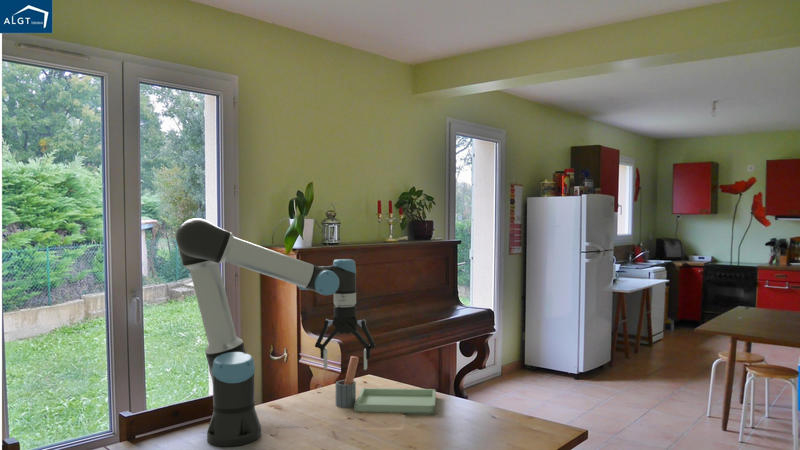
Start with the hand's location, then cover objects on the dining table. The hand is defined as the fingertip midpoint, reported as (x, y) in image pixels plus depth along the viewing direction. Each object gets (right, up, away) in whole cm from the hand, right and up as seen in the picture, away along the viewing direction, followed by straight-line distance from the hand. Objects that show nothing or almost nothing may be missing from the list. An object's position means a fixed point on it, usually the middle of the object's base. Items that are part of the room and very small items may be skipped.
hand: (345, 368), depth 193 cm
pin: (0, -12, 0) cm, 12 cm away
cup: (0, -13, 0) cm, 13 cm away
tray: (+17, -13, +1) cm, 21 cm away
